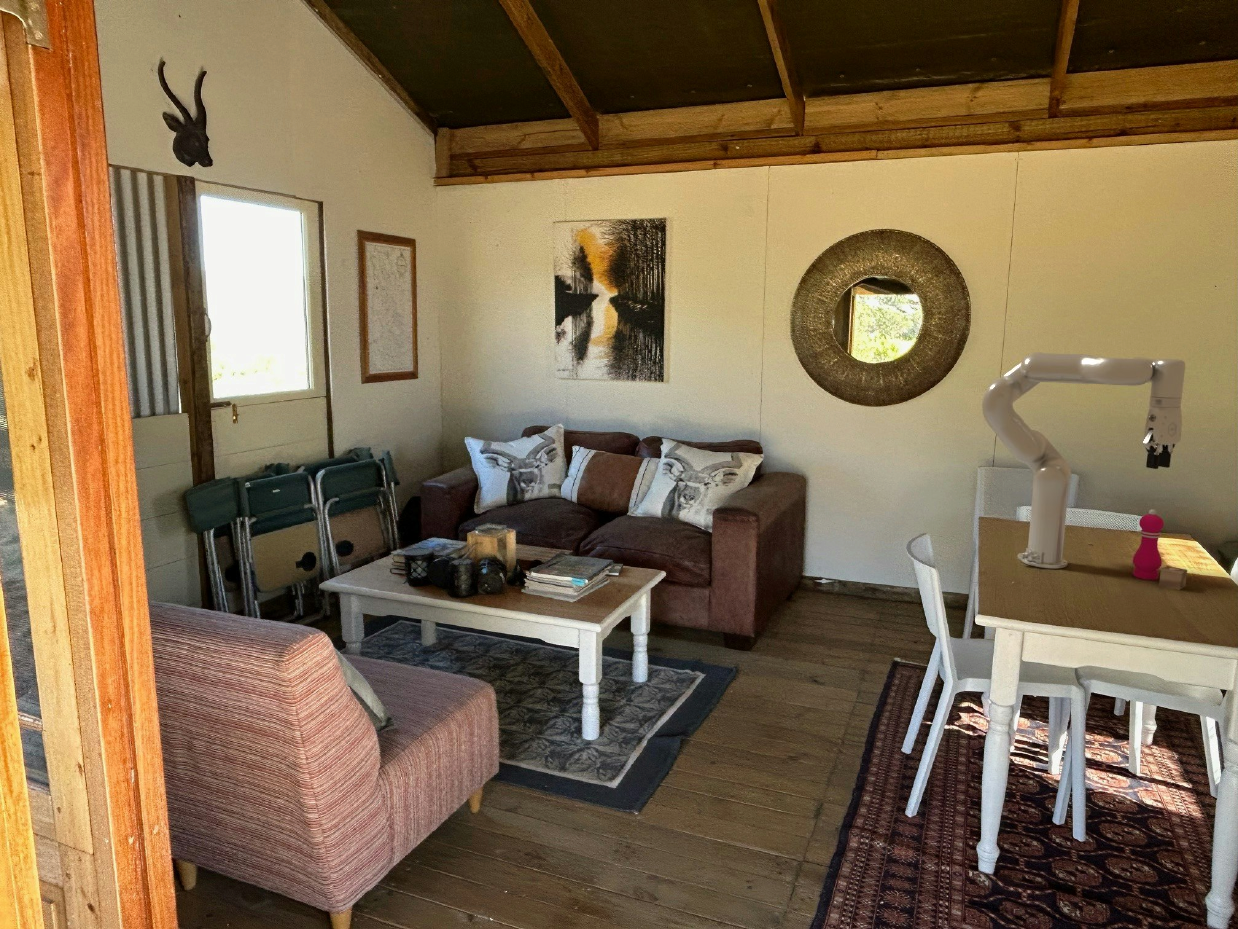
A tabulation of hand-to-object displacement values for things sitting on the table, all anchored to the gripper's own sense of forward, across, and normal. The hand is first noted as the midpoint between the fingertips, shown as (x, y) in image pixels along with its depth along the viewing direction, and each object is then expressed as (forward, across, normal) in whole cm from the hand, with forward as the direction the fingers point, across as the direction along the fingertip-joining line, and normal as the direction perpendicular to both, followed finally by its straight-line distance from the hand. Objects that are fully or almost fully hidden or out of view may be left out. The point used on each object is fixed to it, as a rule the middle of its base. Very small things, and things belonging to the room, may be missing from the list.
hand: (1157, 466), depth 247 cm
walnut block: (+32, -2, -9) cm, 34 cm away
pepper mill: (+33, 0, 0) cm, 33 cm away
